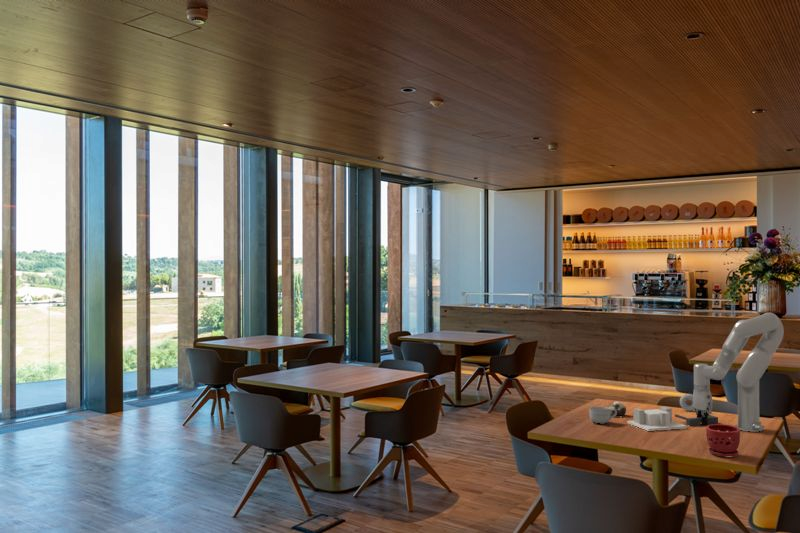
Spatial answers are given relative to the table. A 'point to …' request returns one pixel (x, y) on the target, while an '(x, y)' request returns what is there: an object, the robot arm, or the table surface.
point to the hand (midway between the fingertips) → (702, 423)
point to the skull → (618, 409)
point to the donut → (683, 402)
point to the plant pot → (723, 439)
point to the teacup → (601, 414)
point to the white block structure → (655, 419)
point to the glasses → (698, 420)
